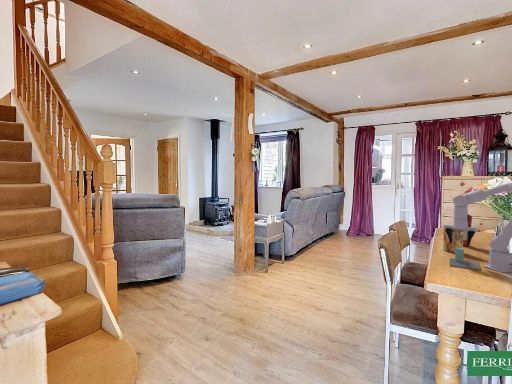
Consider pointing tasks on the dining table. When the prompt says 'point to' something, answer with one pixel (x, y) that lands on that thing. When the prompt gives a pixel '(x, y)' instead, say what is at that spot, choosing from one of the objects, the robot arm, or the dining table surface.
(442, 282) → the dining table surface
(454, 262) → the slate board
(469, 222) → the liquor
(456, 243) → the candy box
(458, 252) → the teal block
